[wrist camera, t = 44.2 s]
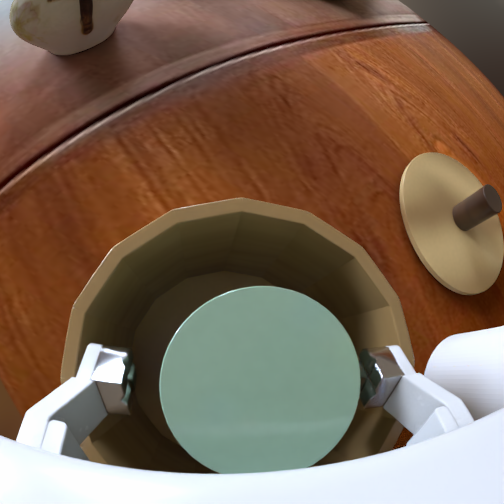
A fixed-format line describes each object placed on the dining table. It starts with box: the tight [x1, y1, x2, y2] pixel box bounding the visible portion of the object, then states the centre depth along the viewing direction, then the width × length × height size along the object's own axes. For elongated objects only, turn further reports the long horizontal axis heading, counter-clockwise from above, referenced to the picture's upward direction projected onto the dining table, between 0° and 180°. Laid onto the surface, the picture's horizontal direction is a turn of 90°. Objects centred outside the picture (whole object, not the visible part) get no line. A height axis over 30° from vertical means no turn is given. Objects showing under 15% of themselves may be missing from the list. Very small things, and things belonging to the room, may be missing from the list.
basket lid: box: [399, 152, 504, 295], centre depth 23 cm, size 14×14×6 cm
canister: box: [159, 286, 361, 474], centre depth 13 cm, size 6×6×11 cm
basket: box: [60, 198, 415, 474], centre depth 14 cm, size 13×13×10 cm
